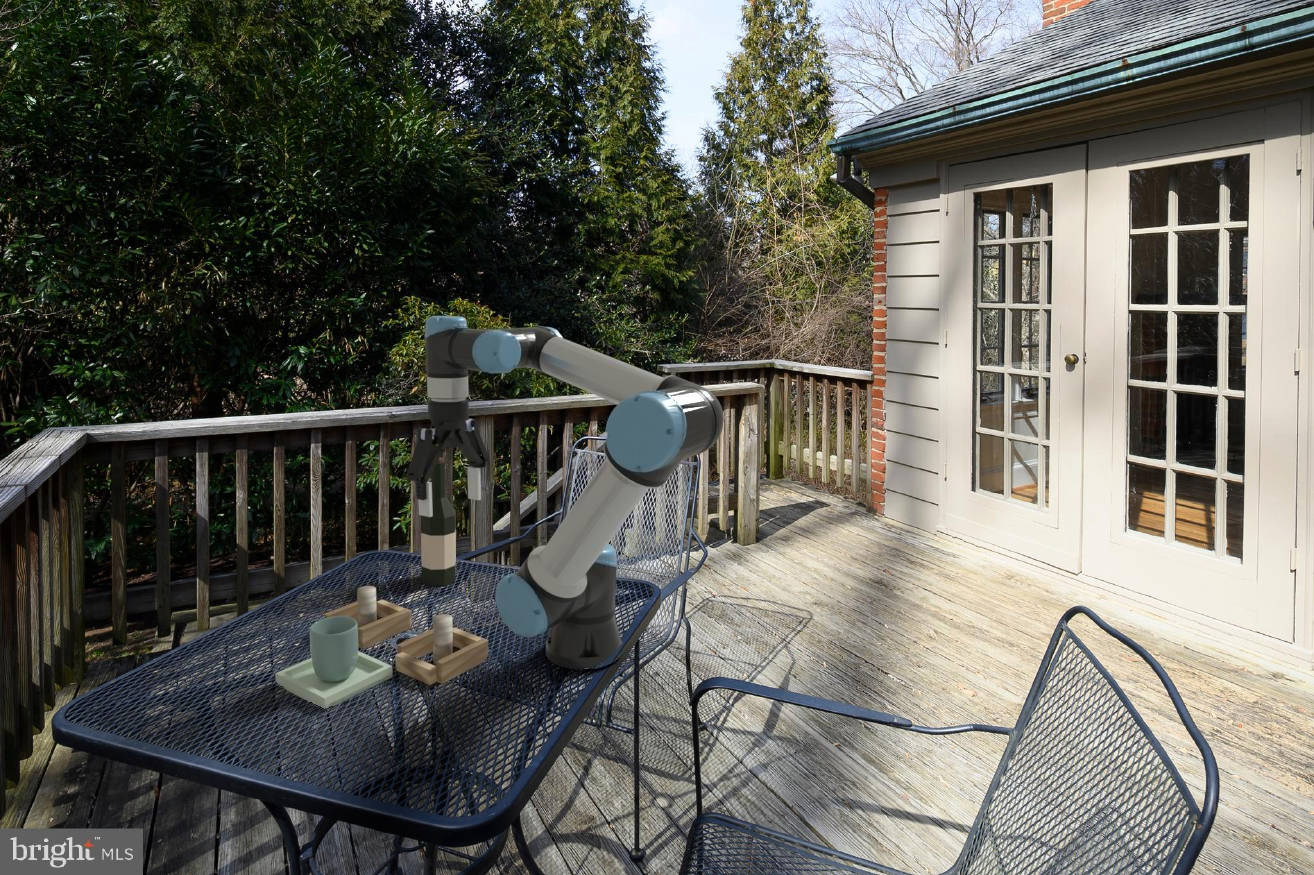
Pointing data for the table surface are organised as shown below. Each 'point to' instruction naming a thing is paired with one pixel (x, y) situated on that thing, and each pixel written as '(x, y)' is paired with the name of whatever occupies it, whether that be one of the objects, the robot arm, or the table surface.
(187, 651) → the table surface
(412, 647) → the rack
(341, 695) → the tray
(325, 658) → the cup
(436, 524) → the wine bottle
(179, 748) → the table surface
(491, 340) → the robot arm
